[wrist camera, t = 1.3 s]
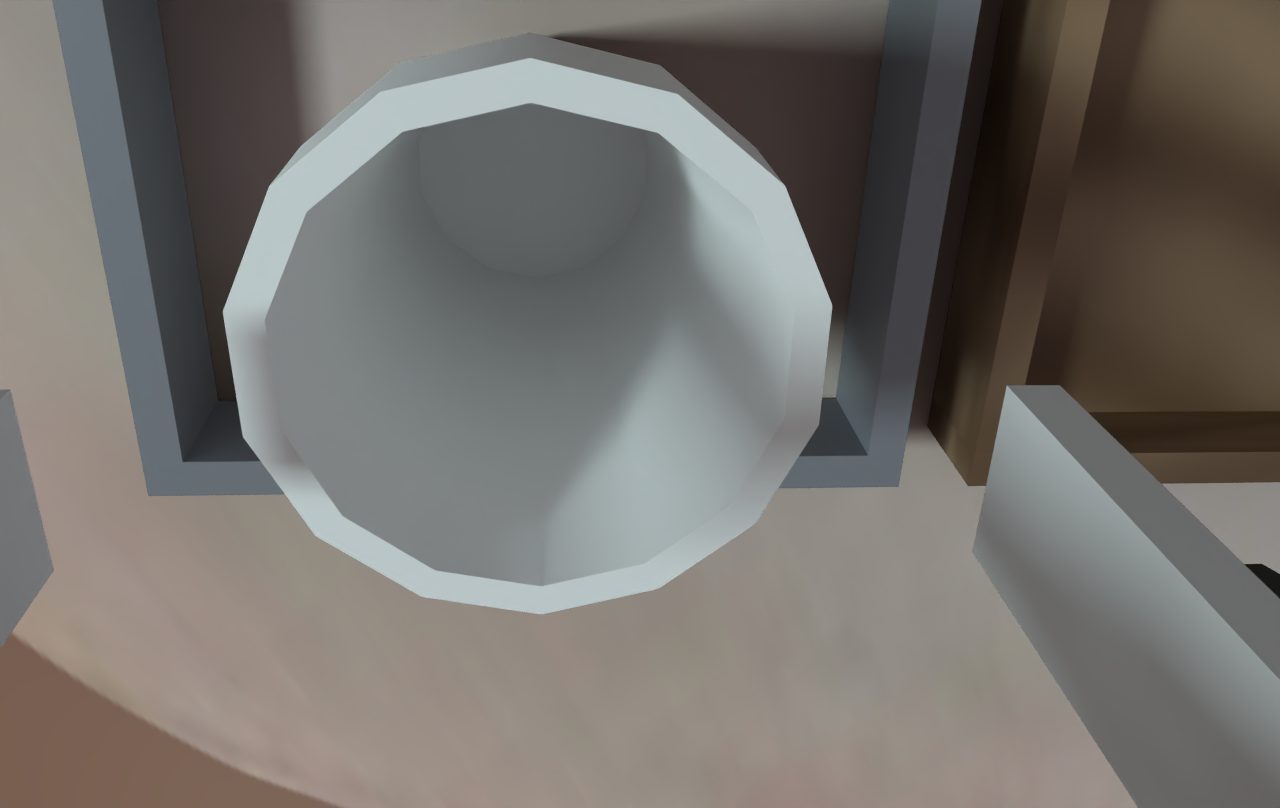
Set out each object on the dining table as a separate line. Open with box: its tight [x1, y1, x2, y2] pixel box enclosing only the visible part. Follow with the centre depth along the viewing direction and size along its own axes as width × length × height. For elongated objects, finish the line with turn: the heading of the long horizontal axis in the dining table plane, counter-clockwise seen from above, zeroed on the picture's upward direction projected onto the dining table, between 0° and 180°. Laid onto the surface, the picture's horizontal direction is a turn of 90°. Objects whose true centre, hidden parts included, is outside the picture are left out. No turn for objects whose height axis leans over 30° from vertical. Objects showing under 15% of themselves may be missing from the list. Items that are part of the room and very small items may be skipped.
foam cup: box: [223, 33, 832, 614], centre depth 23 cm, size 10×9×13 cm
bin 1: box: [52, 0, 982, 496], centre depth 27 cm, size 16×20×4 cm
